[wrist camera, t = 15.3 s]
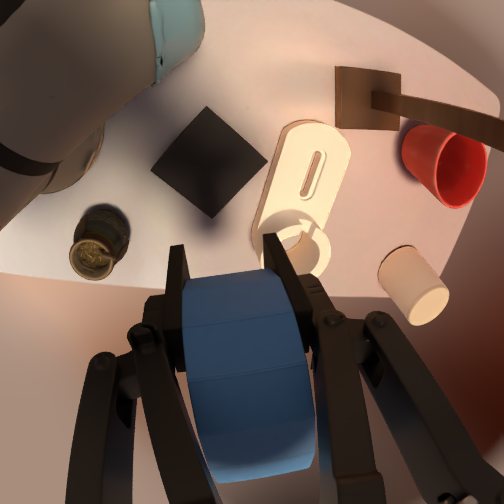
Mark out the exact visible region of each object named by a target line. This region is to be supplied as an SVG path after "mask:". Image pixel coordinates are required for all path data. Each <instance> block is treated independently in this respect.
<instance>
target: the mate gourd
mask: <svg viewBox="0 0 504 504" xmlns="http://www.w3.org/2000/svg"><path fill="white" fill-rule="evenodd" d="M128 244H129V240H128V232H127V228H126V225H125V223H124V221H123V220H122V219H121V218H120V217H119V216H118V215H117V214H115V213H113V212H111V211H108V210H97V211H92V212H90V213H89V214H87V215H85V216H84V217H83V218H82V219H81V220H80V222H79V223H78V225H77V227H76V230H75V232H74V244H73V245H72V246H71V249H70V253H69V259H70V263H71V266H72V267H73V269H74V270H75V272H76V273H77V274H79V275H80V276H81V277H83V278H85V279H88V280H101V279H104V278H106V277H107V276H108V275H109V274H110V273H111V272H112V269H113V267H114V265H115V264H116V263H117V262H118V261H120V260H121V259H122V258H123V257H124V255H125V253H126V252H127V249H128Z"/></svg>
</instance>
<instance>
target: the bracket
mask: <svg viewBox="0 0 504 504" xmlns="http://www.w3.org/2000/svg"><path fill="white" fill-rule="evenodd" d="M315 151H316V155H315V158H314V161H313V164H312V167H311V170H310V173H309V176H308V179H307V181H306V184H305V187H304V190H303V191H302V192H300V189H301V186H302V184H303V181H304V178H305V175H306V172H307V169H308V166H309V163H310V160H311V157H312V154H313V152H315ZM350 157H351V152H350V148H349V146H348V143H347V142H346V140H345V138H344V137H343V136H342V135H341V134H340V133H339V132H338V131H337V130H335V129H334V128H332V127H330V126H328V125H326V124H323V123H320V122H317V121H312V120H303V121H298V122H294V123H292V124H290V125H288V126H286V127H285V128H284V129H283V130H282V133H281V136H280V139H279V142H278V146H277V149H276V152H275V155H274V158H273V162H272V165H271V168H270V171H269V175H268V178H267V181H266V184H265V188H264V191H263V194H262V197H261V201H260V204H259V207H258V210H257V214H256V217H255V220H254V223H253V227H252V231H251V238H252V242H253V245H254V248H255V251H256V254H257V257H258V260H259V263H260V266H261V269H264V257H263V234H267V233H275V232H276V234H277V236H278V238H279V240H280V242H281V241H283V240H284V239H286V238H289V237H292V236H297V235H299V232H300V230H302V231H303V235H302V238H301V240H300V241H299V243H298V244H297V245H296V246H295V247H293V248H292V249H290V250H288V251H285V252H286V254H287V256H288V258H289V260H290V262H291V264H292V266H293V268H294V270H295V272H296V274H297V275H302V274H308V273H311V274H313V275H314V276H315V277H318V276H319V275H320V274H321V273H322V272H323V271H324V269H325V268H326V266H327V264H328V262H329V259H330V255H331V246H330V242H329V240H328V238H327V236H326V235H325V234H324V232H323V228H324V226H325V223H326V221H327V218H328V215H329V213H330V210H331V208H332V205H333V203H334V200H335V197H336V195H337V192H338V190H339V187H340V184H341V182H342V179H343V176H344V173H345V171H346V168H347V165H348V162H349V160H350Z"/></svg>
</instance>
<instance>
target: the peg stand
mask: <svg viewBox="0 0 504 504" xmlns="http://www.w3.org/2000/svg"><path fill="white" fill-rule="evenodd" d="M335 82H336V127H337V128H340V129H368V130H391V131H399V127H400V116H403V117H406V118H410V119H413V120H417V121H420V122H423V123H427V124H430V125H433V126H436V127H439V128H442V129H445V130H448V131H451V132H454V133H457V134H459V135H462V136H465V137H467V138H470V139H473V140H475V141H478V142H480V143H483V144H485V145H488V146H490V147H493V148H495V149H497V150H499V151H502V152H504V120H503V119H500V118H497V117H494V116H491V115H487V114H484V113H481V112H477V111H474V110H470V109H466V108H463V107H459V106H455V105H451V104H446V103H442V102H438V101H433V100H428V99H423V98H418V97H413V96H407V95H402V94H401V74H398V73H392V72H385V71H378V70H371V69H363V68H353V67H343V66H337V67H335Z"/></svg>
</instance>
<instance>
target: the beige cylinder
mask: <svg viewBox="0 0 504 504" xmlns="http://www.w3.org/2000/svg"><path fill="white" fill-rule="evenodd" d="M378 280H379V282H380V284H381V285H382V287H383V288H384V289H385V291H386V292H387V293H388V294H389V296H390V297H391V298H392V300H393V301H394V302H395V304H396V305H397V306H398V307H399V309H400V310H401V312H402V313H403V314H404V316H405V317H406V318H407V320H408V321H409V322H410V323H411V324H413V325H422V324H425V323H427V322H429V321H431V320H432V319H434V318H435V317H436V316H437V315H438V314H439V313H440V312H441V311H442V310H443V309H444V307H445V305H446V304H447V302H448V299H449V291H448V289H447V287H446V286H445V285H444V283H443V282H442V281H441V279H440V278H439V277H438V276H437V274H436V273H435V272H434V270H433V269H432V268H431V267H430V265H429V264H428V263H427V262H426V260H425V259H424V258H423V257H422V255H421V254H420V253H419V252H418V250H417V249H415V248H413V247H409V246H407V247H402V248H399V249H397V250H395V251H394V252H392V253H391V254H390V255H389V256H388V257H387V258H386V259H385V260H384V262H383V263H382V265H381V267H380V269H379V273H378Z"/></svg>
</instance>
